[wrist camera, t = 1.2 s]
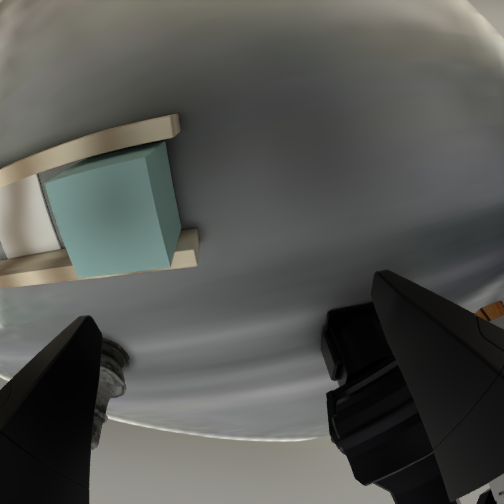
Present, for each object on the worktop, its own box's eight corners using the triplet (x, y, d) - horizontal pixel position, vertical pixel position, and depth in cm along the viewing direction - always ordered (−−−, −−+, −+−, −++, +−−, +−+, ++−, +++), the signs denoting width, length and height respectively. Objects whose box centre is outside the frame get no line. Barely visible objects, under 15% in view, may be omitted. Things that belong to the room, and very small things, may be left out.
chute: (178, 113, 16) (169, 116, 13) (200, 243, 21) (197, 266, 18) (-28, 182, 15) (-48, 195, 13) (5, 271, 20) (-10, 289, 17)
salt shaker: (143, 364, 27) (127, 469, 17) (107, 376, 28) (87, 468, 18) (104, 328, 24) (70, 440, 14) (70, 344, 25) (36, 440, 15)
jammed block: (165, 141, 16) (145, 157, 12) (181, 227, 20) (170, 267, 15) (82, 160, 16) (44, 183, 12) (104, 239, 19) (78, 278, 15)
